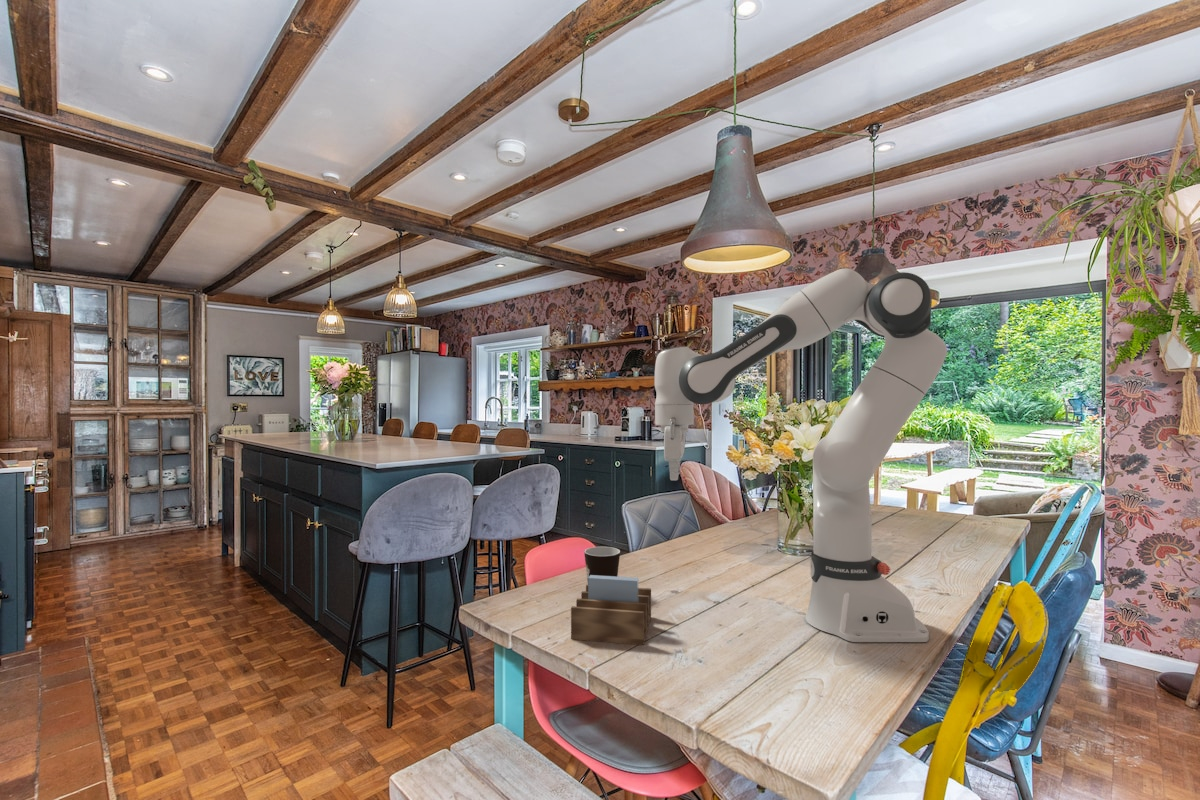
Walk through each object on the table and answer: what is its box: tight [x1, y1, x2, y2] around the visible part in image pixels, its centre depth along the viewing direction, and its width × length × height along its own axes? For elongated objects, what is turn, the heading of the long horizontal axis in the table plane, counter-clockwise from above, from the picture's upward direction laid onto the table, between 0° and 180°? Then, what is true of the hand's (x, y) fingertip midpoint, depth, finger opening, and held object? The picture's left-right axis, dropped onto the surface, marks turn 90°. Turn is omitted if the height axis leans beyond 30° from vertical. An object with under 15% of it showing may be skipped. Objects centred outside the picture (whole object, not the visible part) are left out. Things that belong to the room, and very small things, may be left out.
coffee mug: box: [583, 546, 621, 582], centre depth 134 cm, size 12×9×10 cm
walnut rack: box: [570, 583, 652, 646], centre depth 112 cm, size 14×14×6 cm
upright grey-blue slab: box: [587, 575, 639, 603], centre depth 112 cm, size 10×2×9 cm, turn 79°
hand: (675, 477), depth 128 cm, fingers open, 8 cm apart
